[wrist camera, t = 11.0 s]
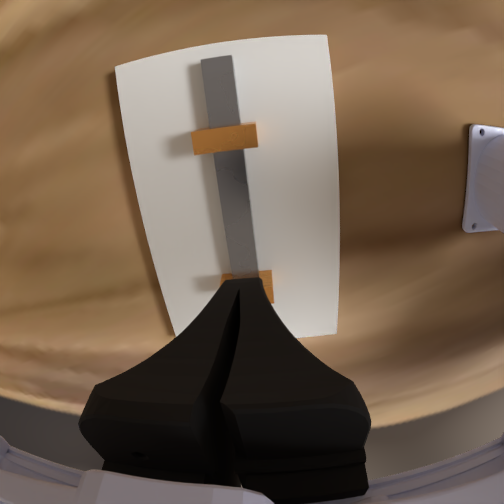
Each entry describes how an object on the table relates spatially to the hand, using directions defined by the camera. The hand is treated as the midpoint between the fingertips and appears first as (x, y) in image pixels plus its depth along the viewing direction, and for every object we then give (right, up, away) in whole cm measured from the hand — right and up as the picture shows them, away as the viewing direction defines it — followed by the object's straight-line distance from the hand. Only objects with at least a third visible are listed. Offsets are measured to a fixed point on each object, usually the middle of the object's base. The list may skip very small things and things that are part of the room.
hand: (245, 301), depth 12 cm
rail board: (-1, +5, +8) cm, 9 cm away
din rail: (-1, +4, +7) cm, 8 cm away
